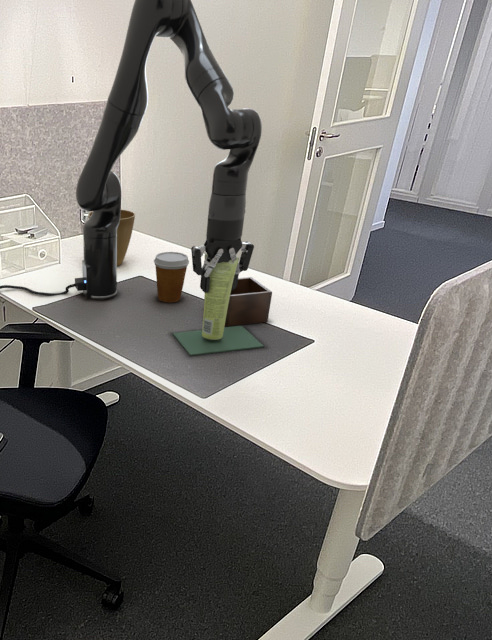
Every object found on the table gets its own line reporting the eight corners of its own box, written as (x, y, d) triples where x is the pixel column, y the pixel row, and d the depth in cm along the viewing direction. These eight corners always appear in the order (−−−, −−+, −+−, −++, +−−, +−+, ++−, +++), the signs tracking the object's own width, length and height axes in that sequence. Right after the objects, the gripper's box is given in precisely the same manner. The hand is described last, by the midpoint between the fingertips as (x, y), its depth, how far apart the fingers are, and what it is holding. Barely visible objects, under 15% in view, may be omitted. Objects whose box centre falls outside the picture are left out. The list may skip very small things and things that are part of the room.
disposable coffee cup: (185, 305, 155) (188, 262, 149) (150, 303, 157) (152, 261, 151) (187, 293, 163) (190, 252, 157) (153, 291, 165) (155, 250, 159)
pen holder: (225, 326, 143) (228, 296, 139) (207, 309, 153) (210, 280, 149) (267, 321, 145) (272, 292, 141) (247, 305, 155) (251, 276, 150)
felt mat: (190, 356, 130) (190, 354, 129) (172, 334, 140) (172, 333, 139) (263, 347, 133) (263, 345, 132) (241, 326, 143) (241, 325, 142)
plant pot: (135, 270, 182) (136, 219, 173) (88, 270, 182) (87, 219, 174) (132, 256, 194) (133, 207, 186) (89, 256, 195) (88, 208, 186)
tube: (218, 330, 138) (226, 250, 128) (229, 338, 134) (239, 257, 124) (197, 333, 137) (204, 253, 127) (208, 342, 133) (216, 260, 123)
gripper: (249, 208, 125) (240, 282, 134) (187, 212, 123) (182, 287, 131) (265, 216, 119) (255, 293, 127) (200, 221, 116) (194, 299, 125)
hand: (218, 290), depth 129 cm, fingers closed on tube, 5 cm apart
